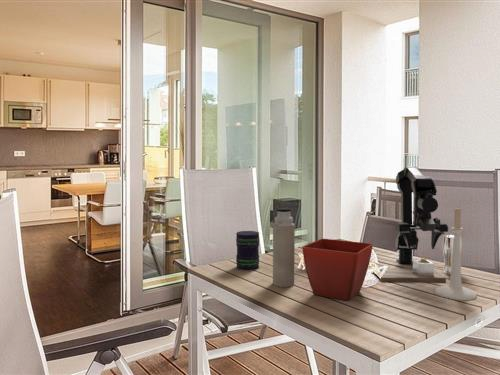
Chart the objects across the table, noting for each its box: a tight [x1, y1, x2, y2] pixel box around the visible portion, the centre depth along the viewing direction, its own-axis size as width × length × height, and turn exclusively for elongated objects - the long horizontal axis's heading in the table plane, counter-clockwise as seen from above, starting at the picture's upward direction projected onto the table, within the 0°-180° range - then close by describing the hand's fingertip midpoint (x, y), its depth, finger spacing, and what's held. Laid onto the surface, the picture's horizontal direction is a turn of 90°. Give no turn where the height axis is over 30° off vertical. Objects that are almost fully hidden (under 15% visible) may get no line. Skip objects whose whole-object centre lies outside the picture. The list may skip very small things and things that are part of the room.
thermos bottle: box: [272, 207, 296, 288], centre depth 162 cm, size 8×8×28 cm
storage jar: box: [235, 230, 260, 272], centre depth 186 cm, size 10×10×15 cm
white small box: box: [412, 259, 435, 275], centre depth 172 cm, size 6×6×4 cm
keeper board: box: [380, 258, 447, 283], centre depth 172 cm, size 14×24×7 cm, turn 88°
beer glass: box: [442, 234, 463, 275], centre depth 178 cm, size 7×7×15 cm
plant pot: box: [302, 238, 373, 301], centre depth 151 cm, size 19×19×17 cm
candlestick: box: [434, 207, 477, 301], centre depth 149 cm, size 13×13×30 cm
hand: (420, 249), depth 172 cm, fingers open, 9 cm apart
